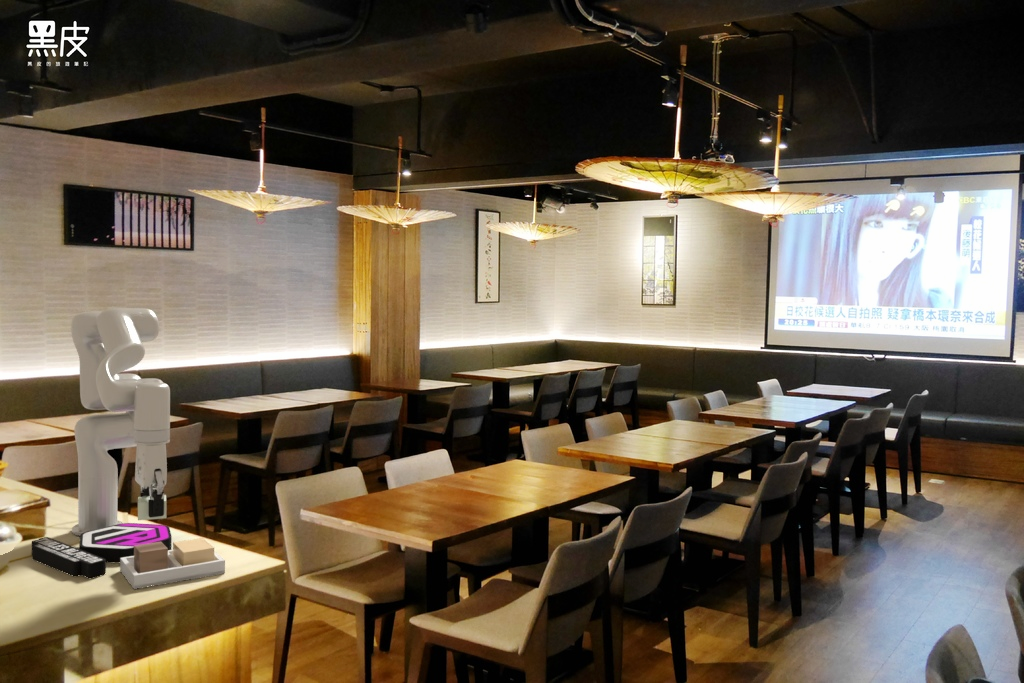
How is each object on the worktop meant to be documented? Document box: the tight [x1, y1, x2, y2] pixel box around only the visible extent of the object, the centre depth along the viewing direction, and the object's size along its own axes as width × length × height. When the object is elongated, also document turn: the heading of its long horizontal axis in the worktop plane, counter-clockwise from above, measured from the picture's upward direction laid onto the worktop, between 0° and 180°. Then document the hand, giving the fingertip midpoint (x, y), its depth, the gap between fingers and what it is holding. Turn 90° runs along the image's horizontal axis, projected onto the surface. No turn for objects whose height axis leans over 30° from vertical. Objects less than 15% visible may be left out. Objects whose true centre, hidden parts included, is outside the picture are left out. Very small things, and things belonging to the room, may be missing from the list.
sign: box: [31, 522, 172, 579], centre depth 208 cm, size 27×4×30 cm
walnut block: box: [134, 542, 168, 573], centre depth 193 cm, size 6×6×6 cm
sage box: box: [137, 494, 168, 521], centre depth 192 cm, size 6×6×4 cm
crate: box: [119, 537, 226, 590], centre depth 196 cm, size 14×20×6 cm
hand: (152, 512), depth 192 cm, fingers closed on sage box, 6 cm apart
